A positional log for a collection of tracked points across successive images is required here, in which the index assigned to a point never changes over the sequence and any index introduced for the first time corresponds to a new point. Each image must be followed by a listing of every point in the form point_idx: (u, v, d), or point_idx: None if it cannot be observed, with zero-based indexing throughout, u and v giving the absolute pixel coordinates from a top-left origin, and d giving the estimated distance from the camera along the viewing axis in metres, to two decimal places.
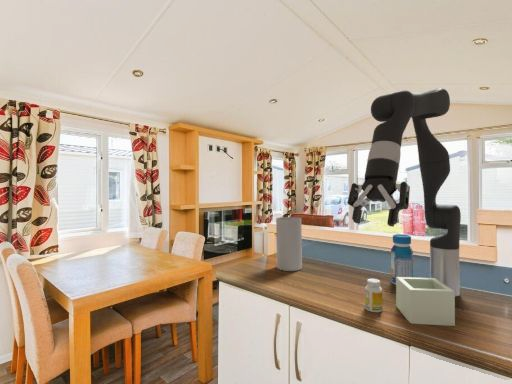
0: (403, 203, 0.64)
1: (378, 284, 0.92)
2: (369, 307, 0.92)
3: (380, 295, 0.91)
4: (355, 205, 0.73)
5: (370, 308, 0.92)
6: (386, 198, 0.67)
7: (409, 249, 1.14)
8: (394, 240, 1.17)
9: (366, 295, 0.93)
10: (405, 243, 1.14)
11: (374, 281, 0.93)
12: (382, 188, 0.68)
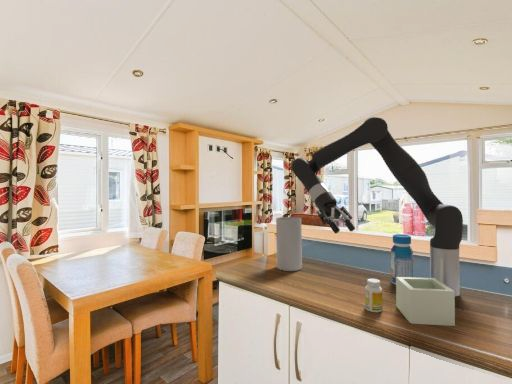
0: None
1: (378, 284, 0.92)
2: (369, 307, 0.92)
3: (380, 295, 0.91)
4: None
5: (370, 308, 0.92)
6: None
7: (409, 249, 1.14)
8: (394, 240, 1.17)
9: (366, 295, 0.93)
10: (405, 243, 1.14)
11: (374, 281, 0.93)
12: None
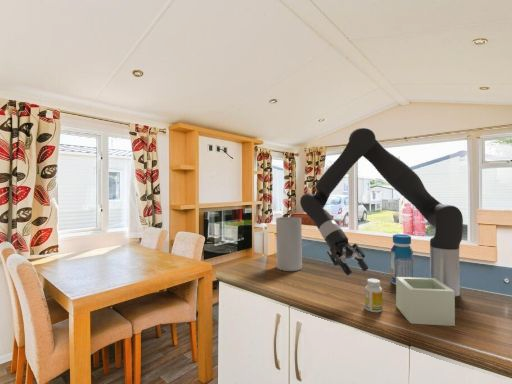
0: None
1: (378, 284, 0.92)
2: (369, 307, 0.92)
3: (380, 295, 0.91)
4: None
5: (370, 308, 0.92)
6: None
7: (409, 249, 1.14)
8: (394, 240, 1.17)
9: (366, 295, 0.93)
10: (405, 243, 1.14)
11: (374, 281, 0.93)
12: None
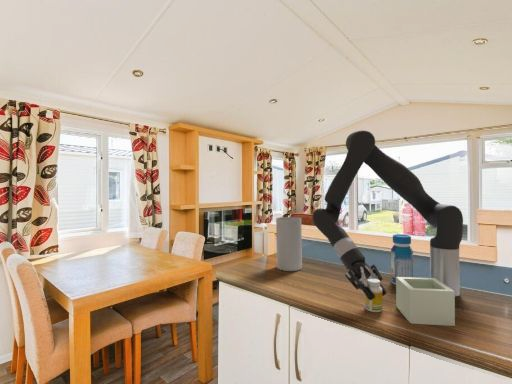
0: None
1: (378, 284, 0.92)
2: (369, 307, 0.92)
3: (380, 295, 0.91)
4: None
5: (370, 308, 0.92)
6: None
7: (409, 249, 1.14)
8: (394, 240, 1.17)
9: None
10: (405, 243, 1.14)
11: (374, 281, 0.93)
12: None
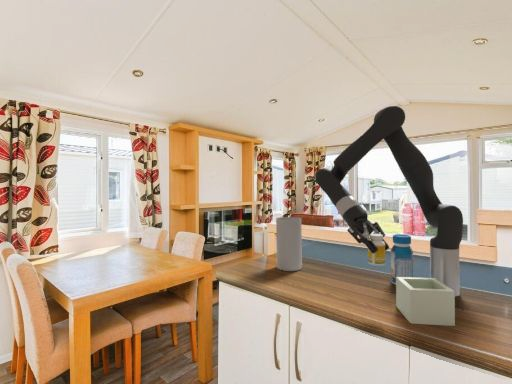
0: None
1: (381, 237, 0.91)
2: (371, 261, 0.92)
3: (383, 248, 0.91)
4: None
5: (373, 262, 0.91)
6: None
7: (409, 249, 1.14)
8: (394, 240, 1.17)
9: None
10: (405, 243, 1.14)
11: (377, 235, 0.92)
12: None
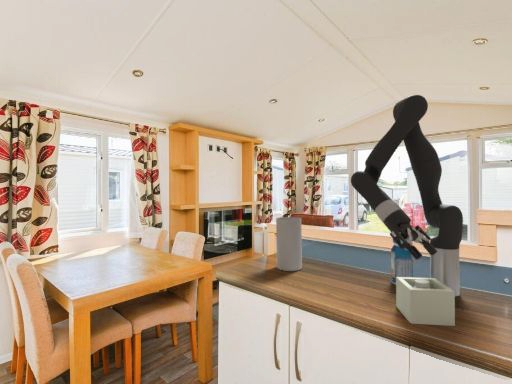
0: None
1: (428, 285, 0.87)
2: None
3: None
4: None
5: None
6: None
7: None
8: None
9: None
10: None
11: (423, 282, 0.88)
12: None
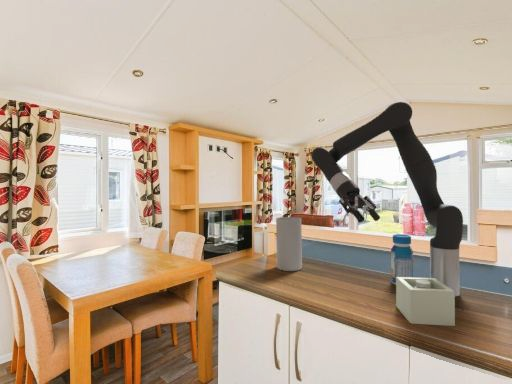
0: None
1: (429, 285, 0.87)
2: None
3: None
4: None
5: None
6: None
7: (409, 249, 1.14)
8: (394, 240, 1.17)
9: None
10: (405, 243, 1.14)
11: (424, 282, 0.88)
12: None
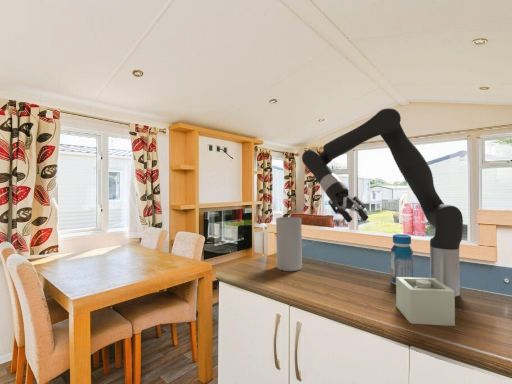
0: None
1: (429, 285, 0.87)
2: None
3: None
4: None
5: None
6: None
7: (409, 249, 1.14)
8: (394, 240, 1.17)
9: None
10: (405, 243, 1.14)
11: (424, 282, 0.88)
12: None
